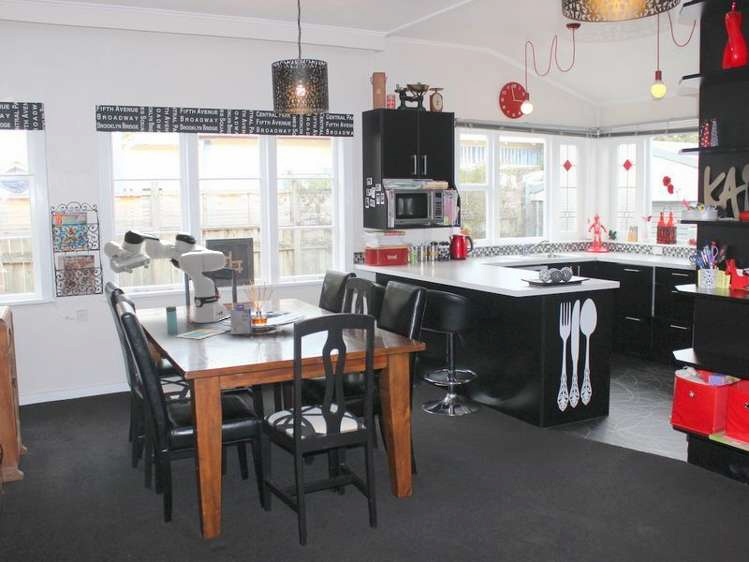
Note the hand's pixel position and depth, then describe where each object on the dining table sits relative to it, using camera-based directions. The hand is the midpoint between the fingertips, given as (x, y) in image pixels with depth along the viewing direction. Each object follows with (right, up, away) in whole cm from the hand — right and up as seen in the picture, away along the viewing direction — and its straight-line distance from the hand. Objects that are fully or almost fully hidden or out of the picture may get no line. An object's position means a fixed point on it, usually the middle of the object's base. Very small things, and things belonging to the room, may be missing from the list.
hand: (139, 269), depth 379 cm
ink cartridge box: (+55, -33, -8) cm, 64 cm away
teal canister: (+18, -33, -3) cm, 38 cm away
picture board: (+34, -33, -9) cm, 48 cm away
